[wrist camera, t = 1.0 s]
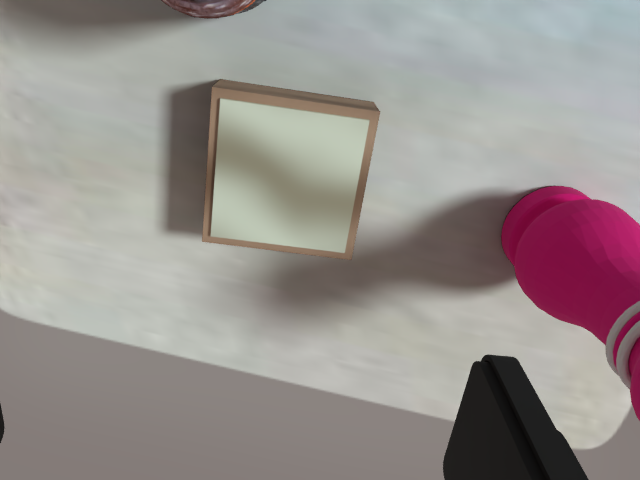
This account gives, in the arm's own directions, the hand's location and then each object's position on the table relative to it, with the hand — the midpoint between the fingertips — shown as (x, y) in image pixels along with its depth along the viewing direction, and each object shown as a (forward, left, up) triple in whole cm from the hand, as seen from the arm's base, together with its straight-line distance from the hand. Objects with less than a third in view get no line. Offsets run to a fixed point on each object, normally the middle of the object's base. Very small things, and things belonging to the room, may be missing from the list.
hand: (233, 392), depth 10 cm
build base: (+2, +1, -23) cm, 24 cm away
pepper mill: (+4, +18, -24) cm, 30 cm away
